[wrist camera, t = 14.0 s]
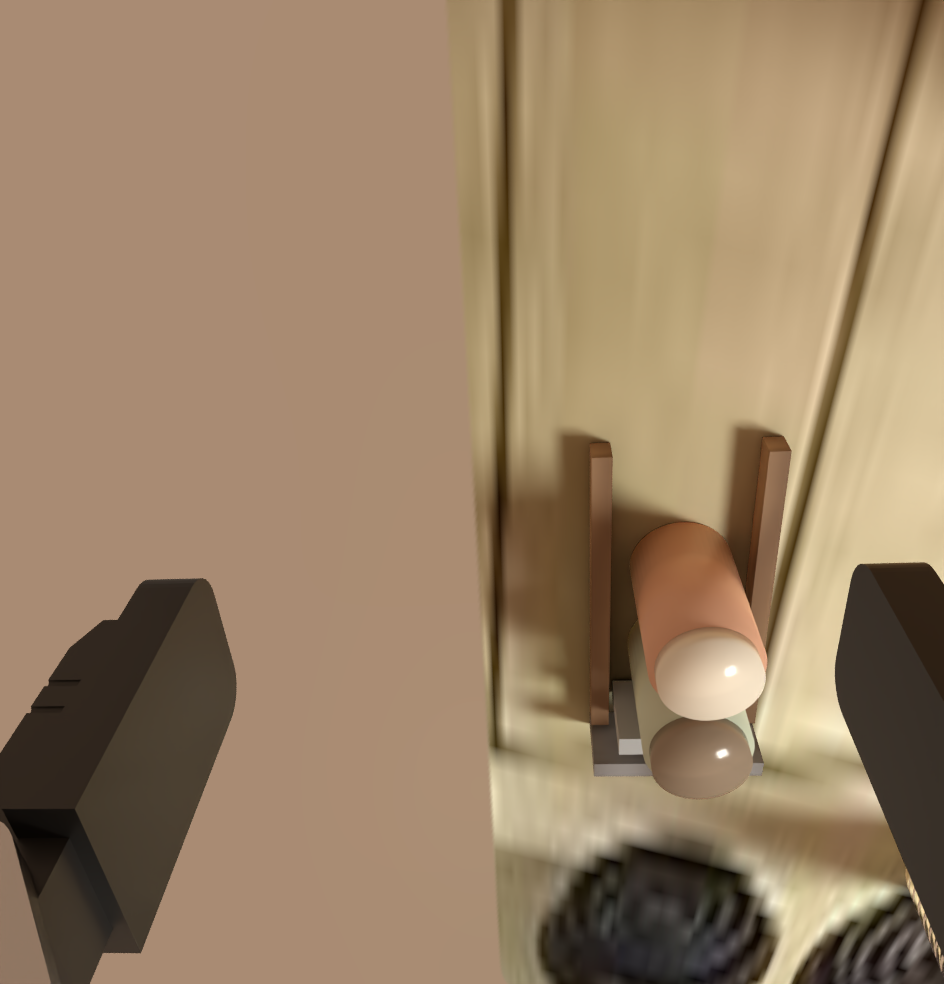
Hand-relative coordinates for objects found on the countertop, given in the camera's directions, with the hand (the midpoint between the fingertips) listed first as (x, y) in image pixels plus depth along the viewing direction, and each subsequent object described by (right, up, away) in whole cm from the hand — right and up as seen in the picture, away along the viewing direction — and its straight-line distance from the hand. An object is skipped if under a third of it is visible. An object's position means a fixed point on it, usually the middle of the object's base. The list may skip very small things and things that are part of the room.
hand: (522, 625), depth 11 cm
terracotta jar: (+11, -2, +36) cm, 38 cm away
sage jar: (+11, -7, +39) cm, 41 cm away
